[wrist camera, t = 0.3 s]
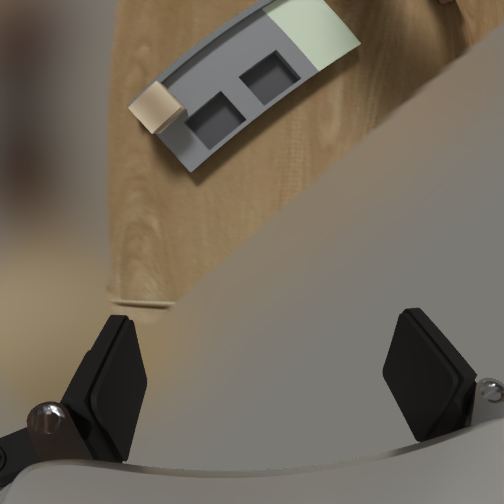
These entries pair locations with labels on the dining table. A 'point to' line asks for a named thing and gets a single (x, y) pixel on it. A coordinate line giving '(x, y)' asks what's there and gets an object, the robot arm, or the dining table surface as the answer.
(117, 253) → the dining table surface
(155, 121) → the ash cube
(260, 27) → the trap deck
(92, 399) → the robot arm
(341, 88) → the dining table surface
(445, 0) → the wooden block
